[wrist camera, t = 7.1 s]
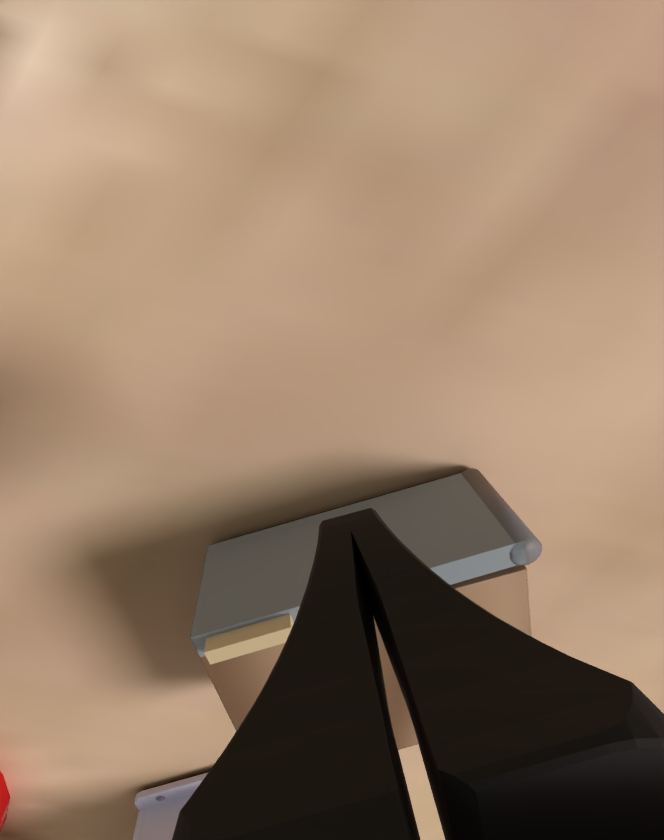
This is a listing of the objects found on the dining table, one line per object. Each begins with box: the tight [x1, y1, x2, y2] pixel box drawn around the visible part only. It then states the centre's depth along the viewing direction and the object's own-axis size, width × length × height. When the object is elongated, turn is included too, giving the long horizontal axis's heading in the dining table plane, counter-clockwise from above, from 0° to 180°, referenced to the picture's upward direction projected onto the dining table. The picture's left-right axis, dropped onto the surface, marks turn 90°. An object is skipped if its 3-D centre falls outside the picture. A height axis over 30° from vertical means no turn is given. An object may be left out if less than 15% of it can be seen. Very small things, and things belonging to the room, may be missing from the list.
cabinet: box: [200, 565, 531, 750], centre depth 20 cm, size 12×8×5 cm, turn 103°
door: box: [190, 468, 542, 665], centre depth 18 cm, size 13×1×6 cm, turn 104°
